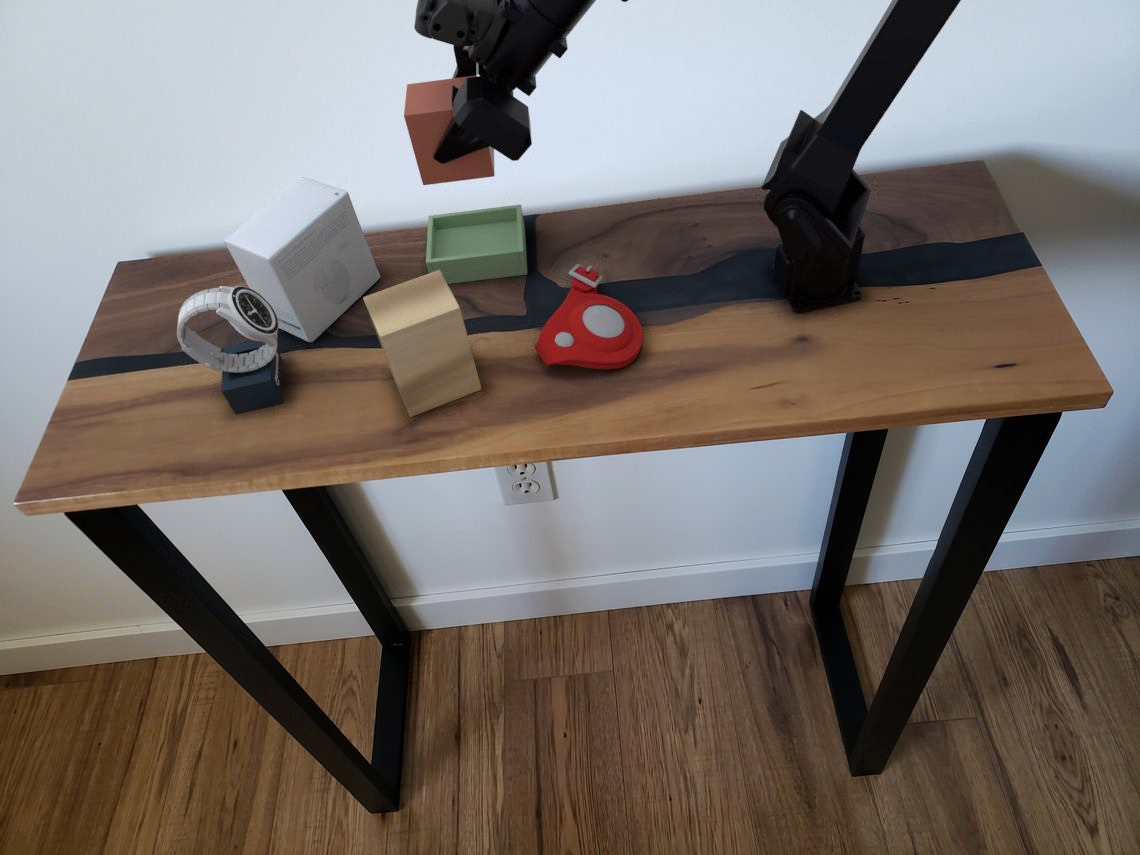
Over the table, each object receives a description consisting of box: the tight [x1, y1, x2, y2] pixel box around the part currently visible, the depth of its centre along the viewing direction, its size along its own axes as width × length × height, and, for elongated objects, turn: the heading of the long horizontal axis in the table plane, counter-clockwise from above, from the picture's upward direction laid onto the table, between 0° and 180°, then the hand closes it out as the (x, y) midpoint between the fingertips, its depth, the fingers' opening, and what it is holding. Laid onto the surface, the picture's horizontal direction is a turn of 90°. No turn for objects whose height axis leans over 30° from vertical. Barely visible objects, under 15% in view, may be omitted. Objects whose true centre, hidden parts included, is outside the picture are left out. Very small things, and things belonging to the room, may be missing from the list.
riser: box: [362, 270, 483, 418], centre depth 73 cm, size 5×7×10 cm
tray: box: [425, 204, 529, 285], centre depth 87 cm, size 10×7×3 cm
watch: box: [176, 285, 284, 415], centre depth 75 cm, size 6×8×11 cm
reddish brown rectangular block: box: [403, 75, 495, 186], centre depth 77 cm, size 5×6×7 cm
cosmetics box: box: [223, 176, 381, 343], centre depth 82 cm, size 10×6×10 cm, turn 147°
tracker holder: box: [533, 263, 644, 370], centre depth 78 cm, size 12×4×10 cm
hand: (438, 142), depth 77 cm, fingers closed on reddish brown rectangular block, 5 cm apart
